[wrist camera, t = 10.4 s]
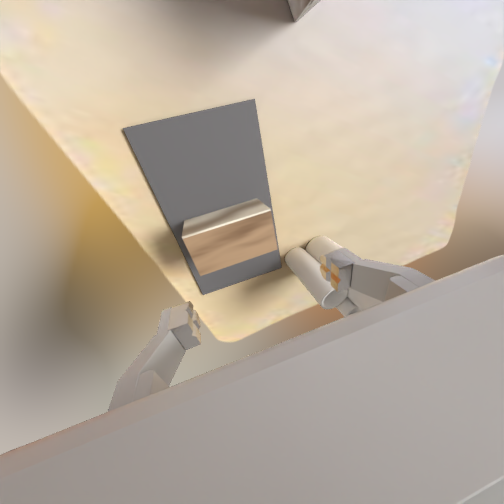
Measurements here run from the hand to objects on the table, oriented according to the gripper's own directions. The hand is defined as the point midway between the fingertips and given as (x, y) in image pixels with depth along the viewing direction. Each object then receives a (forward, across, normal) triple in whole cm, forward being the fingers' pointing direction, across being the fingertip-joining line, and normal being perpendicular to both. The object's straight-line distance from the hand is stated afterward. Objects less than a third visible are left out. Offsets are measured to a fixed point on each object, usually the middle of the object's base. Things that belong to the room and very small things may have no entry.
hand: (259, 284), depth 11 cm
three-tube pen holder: (+24, -16, +18) cm, 34 cm away
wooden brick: (+20, 0, +2) cm, 20 cm away
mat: (+24, 0, +4) cm, 24 cm away
